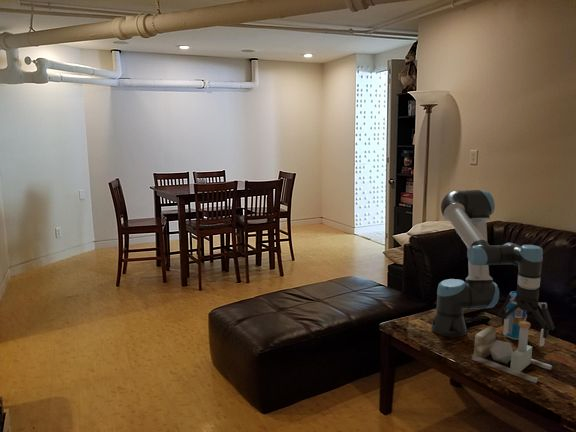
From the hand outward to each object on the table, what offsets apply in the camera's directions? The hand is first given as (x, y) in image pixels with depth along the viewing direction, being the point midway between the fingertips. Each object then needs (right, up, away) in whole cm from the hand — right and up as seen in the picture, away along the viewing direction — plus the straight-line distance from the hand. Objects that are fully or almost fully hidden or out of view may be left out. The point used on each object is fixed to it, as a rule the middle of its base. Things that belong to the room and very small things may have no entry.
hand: (523, 339), depth 180 cm
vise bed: (-2, -11, +5) cm, 12 cm away
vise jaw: (0, -11, +2) cm, 11 cm away
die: (-5, -11, +8) cm, 14 cm away
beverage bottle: (+11, -6, +30) cm, 32 cm away
